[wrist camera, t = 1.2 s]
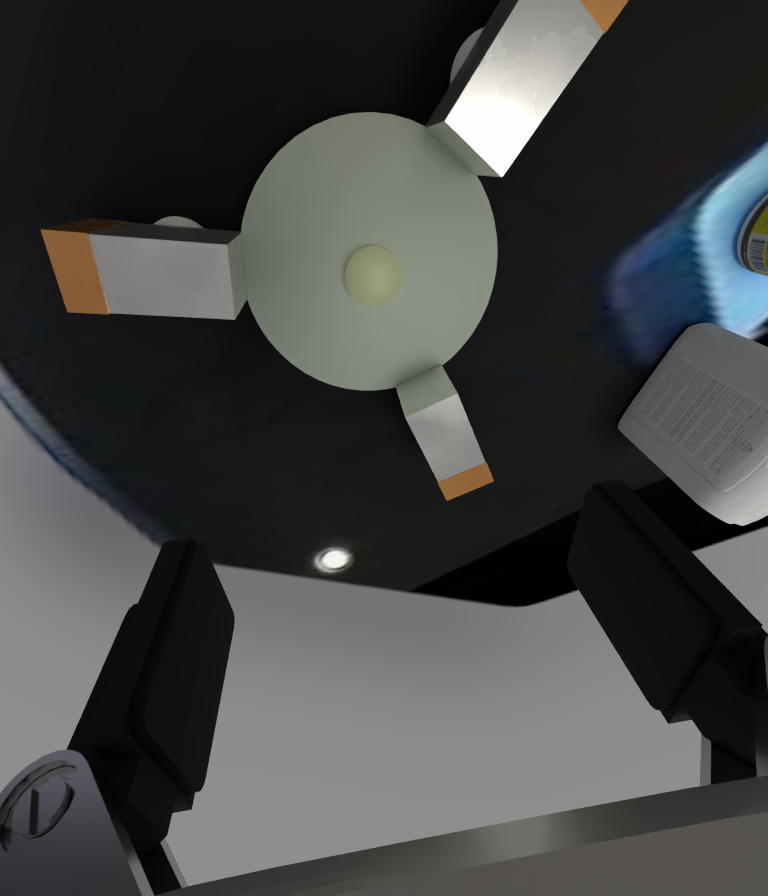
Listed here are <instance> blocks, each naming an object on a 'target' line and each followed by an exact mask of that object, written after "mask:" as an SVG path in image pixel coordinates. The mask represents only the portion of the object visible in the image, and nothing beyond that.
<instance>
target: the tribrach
mask: <svg viewBox="0 0 768 896" xmlns="http://www.w3.org/2000/svg"><path fill="white" fill-rule="evenodd" d="M484 28H485V27H483V28H481V29H479V30H477V31H476V32H474V33H473V34H472V35H471V36H470V37H468V38H467V40H466V41H465V42H464V43H463V44H462V46H461V47H460V49H459V51H458V52H457V54H456V57H455V59H454V62H453V65H452V69H451V75H450V84H451V83H452V81H453V79H454V78H455V76H456V74H457V73H458V71H459V69H460V68H461V66H462V64H463V63H464V61H465V59H466V58H467V56H468V54H469V53H470V51H471V49H472V48H473V46H474V44H475V43H476V41H477V39H478V38H479V36H480V34H481V33H482V31H483V29H484ZM154 224H155V225H167V226H179V227H191V228H203V227H202V226H200V225H199V224H198V223H196V222H194V221H192V220H190V219H188V218H185V217H180V216H170V217H165V218H163V219H160V220H158V221H157V222H155V223H154ZM241 232H243V239H244V251H245V262H246V273H247V285H248V298H247V300H248V303H249V305H250V308H251V310H252V313H253V315H254V317H255V319H256V321H257V322H258V324H259V326H260V328H261V329H262V331H263V332H264V334H265V335H266V337H267V338H268V340H269V341H270V342H271V343H272V344H273V346H274V347H275V348H276V349H277V350H278V351H279V352H280V354H282V355H283V356H284V357H285V358H286V359H287V360H288V361H289V362H291V363H292V364H293V365H295V366H296V367H297V368H299V369H300V370H302V371H303V372H305V373H306V374H308V375H310V376H312V377H314V378H316V379H318V380H320V381H323V382H325V383H328V384H331V385H334V386H338V387H342V388H346V389H354V390H382V389H390V388H394V387H396V386H395V385H398V384H400V383H402V382H404V381H406V380H408V379H410V378H412V377H415V376H417V375H419V374H421V373H423V372H425V371H427V370H429V369H431V368H434V367H436V366H438V365H440V364H441V365H443V364H444V363H445V362H447V361H448V360H449V359H450V358H452V357H453V356H454V355H455V354H456V352H457V351H458V350H459V349H460V348H461V347H462V346H463V345H464V344H465V342H466V341H467V340H468V339H469V337H470V336H471V335H472V333H473V332H474V330H475V328H476V327H477V325H478V323H479V322H480V320H481V318H482V316H483V313H484V311H485V309H486V307H487V305H488V301H489V298H490V295H491V292H492V289H493V284H494V279H495V274H496V266H497V235H496V228H495V222H494V217H493V214H492V210H491V207H490V203H489V200H488V198H487V195H486V193H485V191H484V189H483V186H482V184H481V182H480V180H479V179H478V177H477V175H473V174H472V173H471V172H470V171H469V170H468V169H467V168H466V167H465V166H464V165H463V164H462V163H461V162H460V161H459V160H458V159H456V158H455V157H454V156H453V155H452V154H451V153H450V152H449V151H448V150H447V149H446V148H445V147H444V146H443V145H442V144H441V143H440V142H438V141H437V140H436V139H435V138H434V137H433V136H432V135H431V134H430V133H429V132H428V131H427V130H426V129H425V126H424V125H421V124H419V123H417V122H415V121H413V120H410V119H407V118H403V117H400V116H396V115H392V114H385V113H375V112H364V113H350V114H346V115H342V116H338V117H334V118H330V119H328V120H325V121H323V122H321V123H318V124H316V125H314V126H311V127H310V128H308V129H307V130H305V131H304V132H302V133H300V134H299V135H297V136H296V137H294V138H293V139H292V140H291V141H290V142H289V143H287V144H286V145H285V146H284V147H283V148H282V149H281V150H280V151H279V152H278V153H277V154H276V155H275V156H274V158H273V159H272V160H271V161H270V162H269V164H268V165H267V166H266V168H265V169H264V171H263V173H262V174H261V176H260V177H259V179H258V181H257V182H256V184H255V186H254V189H253V191H252V193H251V196H250V198H249V200H248V203H247V206H246V210H245V214H244V217H243V221H242V228H241Z"/></svg>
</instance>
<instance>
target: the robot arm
mask: <svg viewBox="0 0 768 896" xmlns="http://www.w3.org/2000/svg"><path fill="white" fill-rule="evenodd" d="M567 568H568V572H569V574H570V576H571V578H572V580H573V581H574V583H575V584H576V586H577V588H578V589H579V591H580V593H581V594H582V596H583V597H584V599H585V600H586V602H587V604H588V605H589V607H590V609H591V610H592V612H593V614H594V615H595V617H596V618H597V620H598V622H599V623H600V625H601V626H602V628H603V630H604V631H605V633H606V635H607V636H608V638H609V640H610V641H611V643H612V644H613V646H614V648H615V649H616V651H617V652H618V654H619V655H620V657H621V659H622V660H623V662H624V664H625V665H626V667H627V669H628V670H629V672H630V674H631V675H632V676H633V678H634V680H635V682H636V683H637V685H638V686H639V688H640V690H641V691H642V693H643V695H644V696H645V698H646V700H647V701H648V702H649V703H650V705H651V706H652V707H653V708H655V709H656V710H660V711H661V713H662V715H663V716H664V718H665V719H666V721H667V722H668V724H670V723H675V722H681V721H686V720H693V722H694V723H695V725H696V726H697V728H698V729H699V731H700V732H701V736H702V737H701V767H700V787H693V788H687V789H682V790H676V791H671V792H666V793H660V794H656V795H650V796H644V797H639V798H634V799H628V800H623V801H617V802H612V803H607V804H601V805H596V806H591V807H585V808H581V809H574V810H569V811H564V812H559V813H553V814H548V815H543V816H538V817H533V818H527V819H522V820H517V821H511V822H506V823H501V824H496V825H490V826H485V827H480V828H475V829H470V830H464V831H459V832H454V833H449V834H444V835H439V836H434V837H429V838H423V839H418V840H412V841H408V842H402V843H397V844H392V845H387V846H382V847H377V848H372V849H367V850H361V851H356V852H351V853H346V854H342V855H336V856H331V857H327V858H321V859H316V860H311V861H306V862H300V863H295V864H290V865H285V866H280V867H275V868H271V869H266V870H262V871H257V872H252V873H248V874H243V875H239V876H234V877H230V878H225V879H220V880H216V881H211V882H207V883H202V884H197V885H192V886H187V883H186V881H185V879H184V877H183V875H182V873H181V871H180V869H179V867H178V865H177V863H176V861H175V858H174V856H173V854H172V852H171V850H170V848H169V846H168V844H167V842H166V840H165V837H166V836H167V834H168V829H169V824H170V820H171V816H172V813H175V812H180V811H186V810H191V809H192V805H193V800H194V794H195V792H199V791H201V789H202V787H203V785H204V783H205V778H206V773H207V767H208V763H209V757H210V752H211V747H212V741H213V736H214V731H215V726H216V720H217V715H218V709H219V704H220V699H221V693H222V688H223V683H224V678H225V672H226V667H227V662H228V656H229V651H230V645H231V641H232V635H233V630H234V613H233V610H232V608H231V605H230V603H229V601H228V598H227V596H226V594H225V591H224V589H223V587H222V584H221V582H220V580H219V578H218V575H217V573H216V571H215V569H214V566H213V564H212V562H211V559H210V557H209V555H208V552H207V550H206V548H205V546H204V544H203V543H197V542H196V541H195V539H194V538H184V539H177V540H170V541H166V542H165V543H164V544H163V546H162V548H161V550H160V553H159V555H158V557H157V560H156V562H155V564H154V567H153V569H152V572H151V574H150V577H149V579H148V581H147V584H146V586H145V588H144V591H143V593H142V595H141V598H140V600H139V602H138V603H137V604H134V605H133V606H132V607H131V608H130V609H129V610H128V612H127V613H126V615H125V617H124V620H123V622H122V624H121V626H120V629H119V631H118V633H117V636H116V638H115V640H114V643H113V645H112V647H111V649H110V652H109V654H108V656H107V658H106V661H105V663H104V665H103V668H102V670H101V672H100V674H99V677H98V679H97V682H96V684H95V686H94V688H93V691H92V693H91V695H90V697H89V700H88V702H87V704H86V706H85V709H84V711H83V714H82V716H81V718H80V720H79V723H78V725H77V727H76V729H75V732H74V734H73V736H72V738H71V741H70V743H69V745H68V748H67V750H61V751H55V752H53V753H50V754H48V755H45V756H42V757H41V758H39V759H38V760H36V761H35V762H33V763H31V764H30V765H28V766H27V767H25V769H23V770H22V771H21V772H20V773H19V774H18V775H17V776H15V777H14V778H13V779H12V780H11V781H10V783H9V784H8V785H7V786H6V787H5V788H4V790H3V791H2V792H1V793H0V896H768V634H767V633H766V632H765V631H764V630H763V629H762V628H761V627H762V624H761V623H760V622H759V621H758V620H757V619H756V618H755V617H754V616H753V615H752V614H751V613H750V612H749V611H748V610H747V609H746V608H745V607H744V606H743V605H742V603H740V601H739V600H738V599H737V598H736V597H735V596H734V595H733V594H732V593H731V592H730V591H729V590H728V589H727V588H726V587H725V586H724V585H723V584H722V583H721V582H720V581H719V580H718V579H717V578H716V577H715V576H714V575H713V574H712V573H711V572H710V571H709V570H708V569H707V568H706V566H705V565H704V564H703V563H702V562H701V561H700V560H699V559H698V558H697V557H696V556H695V555H694V554H693V553H692V552H691V551H690V550H689V549H688V548H687V547H686V546H685V545H684V544H683V543H682V542H681V541H680V540H679V539H678V538H677V537H676V536H675V535H674V534H673V533H672V532H671V531H670V529H669V528H668V527H667V526H666V525H665V524H664V523H663V522H662V521H661V520H660V519H659V518H658V517H657V516H656V515H655V514H654V513H653V512H652V511H651V510H650V509H649V508H648V507H647V506H646V505H645V504H644V503H643V502H642V501H641V500H640V499H639V498H638V497H637V496H636V495H635V494H634V492H633V491H632V490H631V489H630V488H629V487H628V486H627V485H626V484H625V483H623V482H622V481H620V480H613V481H605V482H598V483H594V484H593V485H592V487H591V489H590V490H587V491H586V494H585V497H584V501H583V505H582V508H581V512H580V516H579V519H578V523H577V527H576V531H575V534H574V538H573V542H572V546H571V549H570V553H569V557H568V560H567Z"/></svg>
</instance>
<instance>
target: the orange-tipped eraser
mask: <svg viewBox="0 0 768 896" xmlns="http://www.w3.org/2000/svg"><path fill="white" fill-rule="evenodd" d="M41 232H42V235H43V239H44V242H45V245H46V248H47V251H48V254H49V257H50V260H51V263H52V266H53V269H54V272H55V275H56V278H57V281H58V284H59V287H60V291H61V294H62V297H63V300H64V303H65V306H66V309H67V312H72V313H92V314H110V313H118V314H137V315H156V316H176V317H195V318H214V319H233V320H235V319H236V317H237V315H238V314H239V312H240V310H241V309H242V307H243V305H244V303H245V302H246V300H247V298H248V285H247V273H246V262H245V251H244V239H243V232H241V231H228V230H216V229H204V228H191V227H179V226H167V225H155V224H142V223H130V222H127V221H120V220H108V219H96V218H87V219H83V220H79V221H75V222H70V223H66V224H62V225H58V226H53V227H49V228H45V229H41Z"/></svg>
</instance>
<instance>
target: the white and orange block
mask: <svg viewBox="0 0 768 896" xmlns="http://www.w3.org/2000/svg"><path fill="white" fill-rule="evenodd" d="M627 2H628V0H501V1H500V2H499V4H498V6H497V7H496V9H495V11H494V12H493V14H492V16H491V17H490V19H489V21H488V22H487V24H486V26H485V28H484V29H483V31H482V33H481V34H480V36H479V38H478V39H477V41H476V43H475V44H474V46H473V48H472V49H471V51H470V53H469V54H468V56H467V58H466V59H465V61H464V63H463V64H462V66H461V68H460V69H459V71H458V73H457V74H456V76H455V78H454V79H453V81H452V83H451V84H450V86H449V88H448V89H447V91H446V93H445V95H444V96H443V98H442V100H441V101H440V103H439V105H438V106H437V108H436V110H435V111H434V113H433V115H432V116H431V118H430V120H429V121H428V123H427V125H426V126H425V129H426V130H427V131H428V132H429V133H430V134H431V135H432V136H433V137H434V138H435V139H436V140H437V141H438V142H440V143H441V144H442V145H443V146H444V147H445V148H446V149H447V150H448V151H449V152H450V153H451V154H452V155H453V156H454V157H455V158H456V159H458V160H459V161H460V162H461V163H462V164H463V165H464V166H465V167H466V168H467V169H468V170H469V171H470V172H471V173H472V174H473V175H483V176H496V177H502V176H503V175H504V174H505V172H506V171H507V169H508V168H509V167H510V165H511V164H512V162H513V161H514V159H515V158H516V157H517V155H518V154H519V152H520V151H521V149H522V148H523V147H524V145H525V144H526V142H527V141H528V140H529V138H530V137H531V135H532V134H533V132H534V131H535V130H536V128H537V127H538V125H539V124H540V122H541V121H542V120H543V118H544V117H545V115H546V114H547V113H548V111H549V110H550V108H551V107H552V105H553V104H554V103H555V101H556V100H557V98H558V97H559V95H560V94H561V93H562V91H563V90H564V88H565V87H566V86H567V84H568V83H569V81H570V80H571V78H572V77H573V76H574V74H575V73H576V71H577V70H578V68H579V67H580V66H581V64H582V63H583V61H584V60H585V58H586V57H587V56H588V54H589V53H590V51H591V50H592V49H593V47H594V46H595V44H596V43H597V41H598V40H599V39H600V37H601V36H602V34H604V33H606V31H607V30H608V29H609V27H610V26H611V24H612V23H613V22H614V20H615V19H616V17H617V16H618V14H619V13H620V12H621V10H622V9H623V7H624V6H625V5H626V3H627Z"/></svg>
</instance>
